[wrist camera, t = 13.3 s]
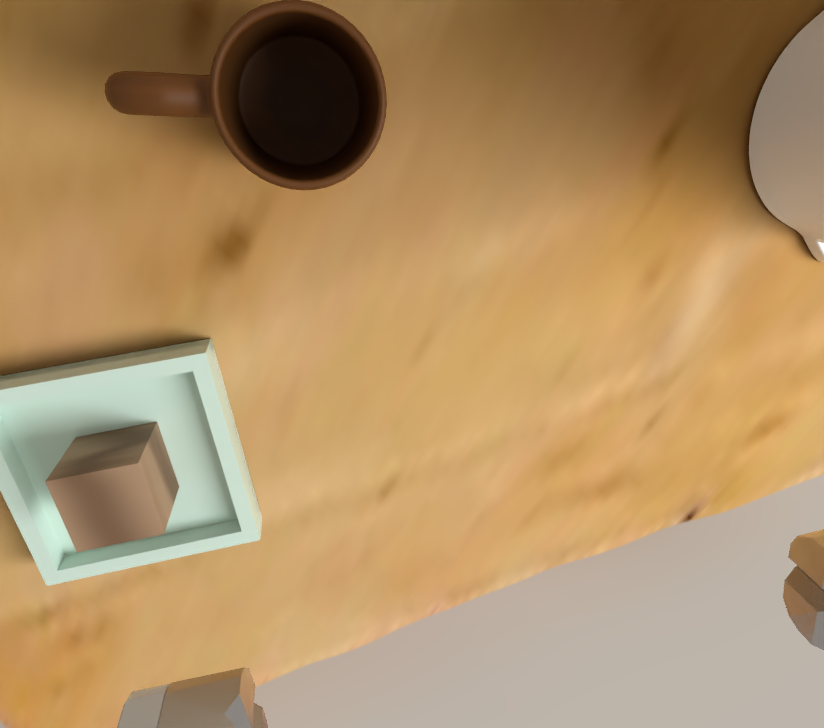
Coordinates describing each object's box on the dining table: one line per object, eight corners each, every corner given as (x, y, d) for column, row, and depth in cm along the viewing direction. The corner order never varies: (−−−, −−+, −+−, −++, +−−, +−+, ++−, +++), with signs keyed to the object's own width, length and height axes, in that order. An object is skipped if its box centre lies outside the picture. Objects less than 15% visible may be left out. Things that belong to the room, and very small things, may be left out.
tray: (211, 338, 38) (205, 352, 36) (262, 517, 44) (260, 539, 41) (-24, 380, 37) (-46, 398, 34) (60, 560, 42) (46, 586, 40)
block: (157, 421, 38) (138, 463, 34) (179, 486, 40) (164, 534, 36) (75, 437, 38) (45, 481, 33) (102, 502, 40) (76, 552, 35)
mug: (153, 170, 34) (104, 190, 25) (134, 15, 31) (72, -22, 22) (367, 175, 36) (388, 195, 27) (368, 30, 33) (392, 2, 25)
